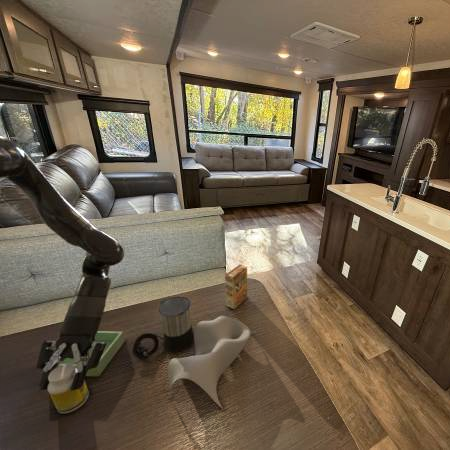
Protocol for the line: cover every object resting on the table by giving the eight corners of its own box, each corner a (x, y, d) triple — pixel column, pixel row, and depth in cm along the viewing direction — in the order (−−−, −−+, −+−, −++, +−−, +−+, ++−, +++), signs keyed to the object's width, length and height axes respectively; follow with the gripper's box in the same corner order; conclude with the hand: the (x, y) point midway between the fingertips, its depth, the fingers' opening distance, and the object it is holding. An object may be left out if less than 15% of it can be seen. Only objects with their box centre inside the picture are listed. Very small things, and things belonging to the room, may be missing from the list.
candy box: (234, 309, 98) (233, 277, 92) (225, 306, 99) (224, 274, 94) (247, 297, 105) (247, 266, 99) (239, 293, 107) (239, 263, 101)
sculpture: (204, 326, 89) (202, 305, 85) (255, 335, 87) (255, 313, 84) (159, 396, 66) (154, 371, 62) (227, 410, 64) (225, 385, 61)
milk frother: (200, 336, 85) (197, 302, 79) (159, 374, 71) (151, 336, 66) (171, 321, 90) (166, 287, 84) (127, 353, 77) (117, 317, 71)
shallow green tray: (48, 375, 68) (44, 365, 67) (82, 339, 80) (79, 330, 78) (98, 376, 69) (95, 366, 68) (125, 340, 81) (122, 331, 79)
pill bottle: (91, 402, 63) (79, 373, 59) (58, 420, 59) (43, 390, 55) (87, 384, 67) (76, 355, 63) (56, 400, 63) (42, 370, 59)
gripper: (43, 313, 61) (11, 393, 55) (104, 315, 62) (80, 393, 56) (67, 314, 68) (41, 385, 62) (121, 316, 69) (101, 386, 63)
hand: (60, 389), depth 59 cm, fingers closed on pill bottle, 6 cm apart
